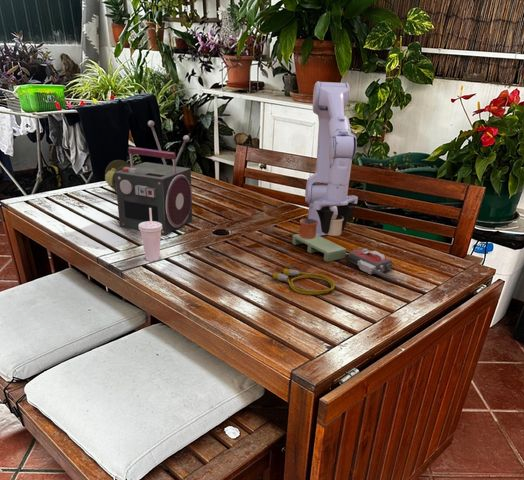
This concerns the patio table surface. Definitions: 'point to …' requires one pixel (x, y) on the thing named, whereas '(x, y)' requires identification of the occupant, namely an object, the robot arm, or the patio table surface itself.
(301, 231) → the terracotta pot
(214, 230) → the patio table surface
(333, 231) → the cream pot
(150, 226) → the smoothie
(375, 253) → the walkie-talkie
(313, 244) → the sage green baseplate
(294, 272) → the extension cord
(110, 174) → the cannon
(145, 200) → the boombox
